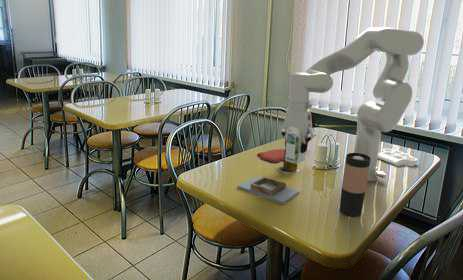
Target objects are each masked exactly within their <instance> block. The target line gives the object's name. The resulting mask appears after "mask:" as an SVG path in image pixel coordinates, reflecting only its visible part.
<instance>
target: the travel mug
mask: <svg viewBox="0 0 463 280" xmlns="http://www.w3.org/2000/svg"><path fill="white" fill-rule="evenodd" d="M370 160H371V158H370V157H369V156H367V155H365V154H361V153H354V152H349V153H347V154H346V157H345V163H344V170H343V175H342V176H343V177H342V182H341V183H342V184H341V193H340V202H339V212H340V213H341V214H343V215H344V216H347V217H352V218H356V217H360V216H361V215H362V211H363V207H364V203H365V202H364V201H365V197H366V191H367V186H368V181H367V179H368V172H369V165H370Z"/></svg>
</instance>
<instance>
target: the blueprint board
mask: <svg viewBox="0 0 463 280" xmlns="http://www.w3.org/2000/svg"><path fill="white" fill-rule="evenodd" d="M261 178H262V177H258V176H254V177H252V178H250V179H248V180H246V181H244V182H242V183H240V184H238V185H237V189H239V190H242V191H244V192H247V193H249V194H253V195H255V196H257V197H258V196H259V197H261V198H264V199H266V200H270V201H272V202H275V203H278V204H281V205H284V204H286V203H287V202H289V201H290V200H292V199H293V198H294V197H296V196H297V195H299V194H300V190H298V189H295V188H292V187H288V186H286V188H285V189H283V190H282V191H280V192H278V193H277V194H275V195H273V196H270V195H267V194H264V193H262V192H259V191H256V190H253V189H250V188H251V183H253V182H255V181H257V180H259V179H261ZM259 186H262V187H265V188H268V189H271V190H273V189H274V188H276V187H278V186H275V185H272V184H269V183H266V182H264V183H263V184H261V185H259Z"/></svg>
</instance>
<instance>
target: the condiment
mask: <svg viewBox="0 0 463 280" xmlns="http://www.w3.org/2000/svg"><path fill="white" fill-rule="evenodd" d="M284 150H285V151H284V161H282V162H283V164H282V166H280V167H275V169H276V170H277V171H279V172H281V173H283V174H285V175H289V174H292V173H294V174H295V173H298V172H301V171H302V170H300V169H299V168H298V164H295V163H292V162H289V161H286V160H285V156H286V149H285V148H284Z"/></svg>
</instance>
